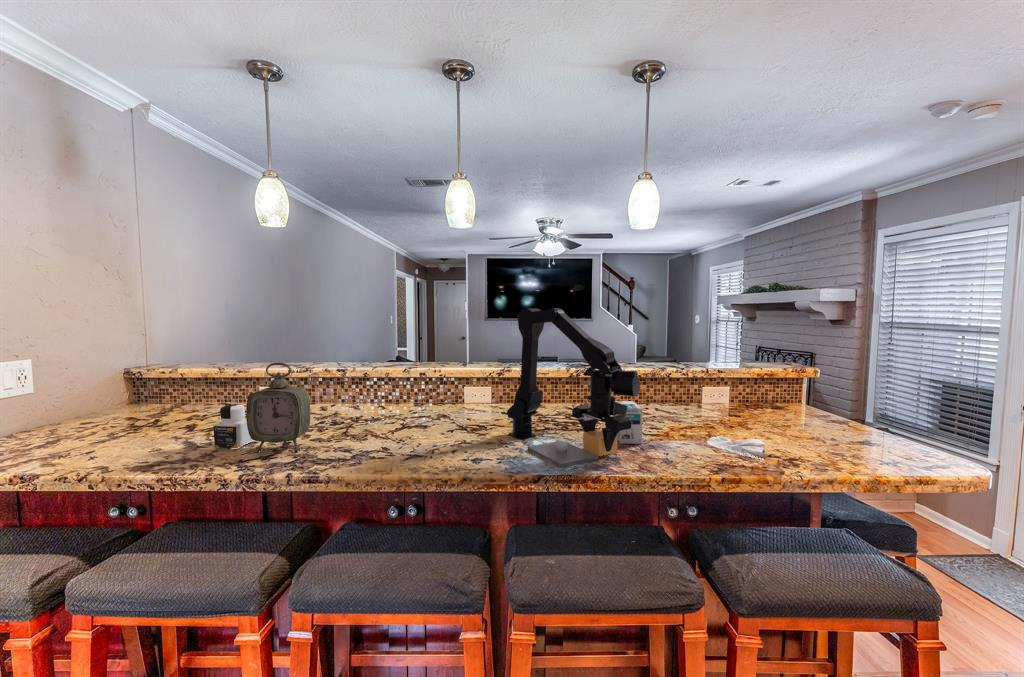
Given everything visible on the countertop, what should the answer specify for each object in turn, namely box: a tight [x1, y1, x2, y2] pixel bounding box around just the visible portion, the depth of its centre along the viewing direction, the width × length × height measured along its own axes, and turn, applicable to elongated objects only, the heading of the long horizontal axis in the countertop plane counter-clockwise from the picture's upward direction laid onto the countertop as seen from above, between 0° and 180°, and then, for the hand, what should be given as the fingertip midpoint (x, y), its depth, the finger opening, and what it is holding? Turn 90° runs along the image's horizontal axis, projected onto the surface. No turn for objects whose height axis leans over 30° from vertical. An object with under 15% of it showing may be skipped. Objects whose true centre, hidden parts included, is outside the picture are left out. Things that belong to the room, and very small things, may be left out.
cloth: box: [706, 435, 774, 461], centre depth 130 cm, size 20×22×2 cm
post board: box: [527, 438, 599, 469], centre depth 124 cm, size 16×12×4 cm
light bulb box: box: [613, 400, 643, 445], centre depth 139 cm, size 11×7×11 cm, turn 179°
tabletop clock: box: [245, 362, 312, 453], centre depth 129 cm, size 14×9×25 cm, turn 92°
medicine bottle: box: [213, 403, 254, 449], centre depth 133 cm, size 7×7×12 cm
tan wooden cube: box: [582, 428, 618, 457], centre depth 127 cm, size 7×7×5 cm
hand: (600, 447), depth 127 cm, fingers closed on tan wooden cube, 7 cm apart
